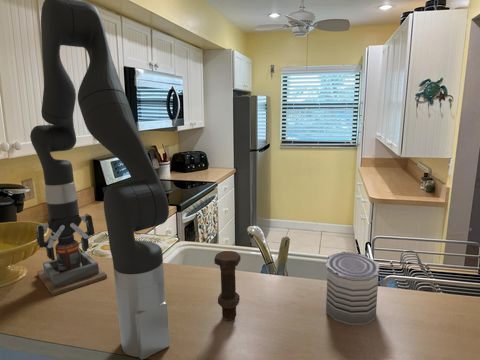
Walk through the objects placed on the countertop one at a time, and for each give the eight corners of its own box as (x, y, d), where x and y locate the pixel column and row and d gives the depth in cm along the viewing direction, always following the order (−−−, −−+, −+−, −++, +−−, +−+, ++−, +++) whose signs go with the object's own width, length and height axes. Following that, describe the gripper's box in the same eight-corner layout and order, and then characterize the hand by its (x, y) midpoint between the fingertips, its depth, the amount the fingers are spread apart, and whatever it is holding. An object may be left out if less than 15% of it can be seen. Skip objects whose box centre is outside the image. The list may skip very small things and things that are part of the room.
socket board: (107, 277, 101) (105, 264, 100) (52, 295, 92) (50, 281, 91) (87, 260, 112) (86, 248, 112) (37, 274, 103) (35, 261, 103)
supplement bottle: (86, 268, 104) (81, 231, 102) (75, 278, 98) (70, 239, 96) (67, 268, 105) (62, 231, 102) (54, 277, 99) (49, 239, 97)
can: (374, 301, 86) (377, 254, 84) (379, 329, 76) (382, 277, 73) (325, 295, 89) (327, 250, 87) (323, 321, 79) (325, 271, 76)
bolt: (219, 326, 78) (216, 261, 75) (214, 313, 83) (212, 252, 79) (244, 321, 79) (243, 258, 76) (238, 309, 84) (237, 249, 81)
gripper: (35, 207, 90) (44, 267, 93) (93, 196, 99) (99, 251, 102) (29, 201, 95) (37, 258, 99) (84, 192, 105) (90, 244, 108)
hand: (69, 254), depth 101 cm, fingers open, 8 cm apart
